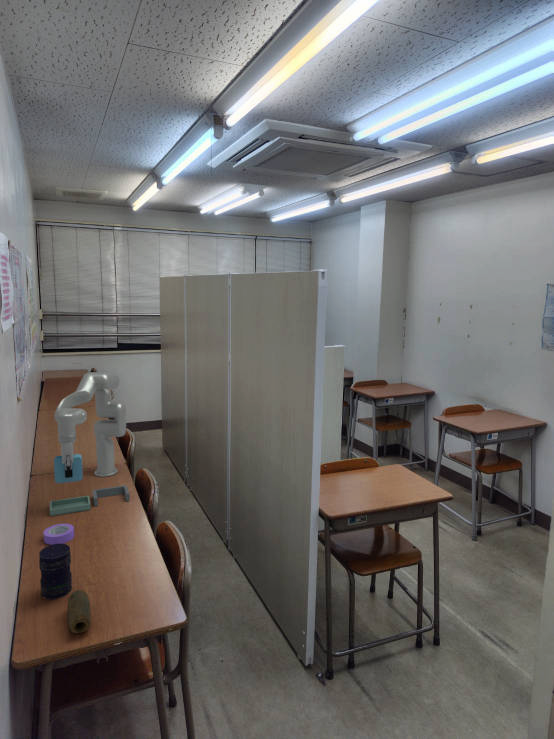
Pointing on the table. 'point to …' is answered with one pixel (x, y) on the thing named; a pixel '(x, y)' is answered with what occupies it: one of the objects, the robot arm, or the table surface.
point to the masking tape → (59, 534)
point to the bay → (110, 493)
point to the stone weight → (79, 612)
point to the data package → (60, 469)
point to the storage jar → (55, 571)
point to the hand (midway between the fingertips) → (68, 474)
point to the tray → (69, 505)
